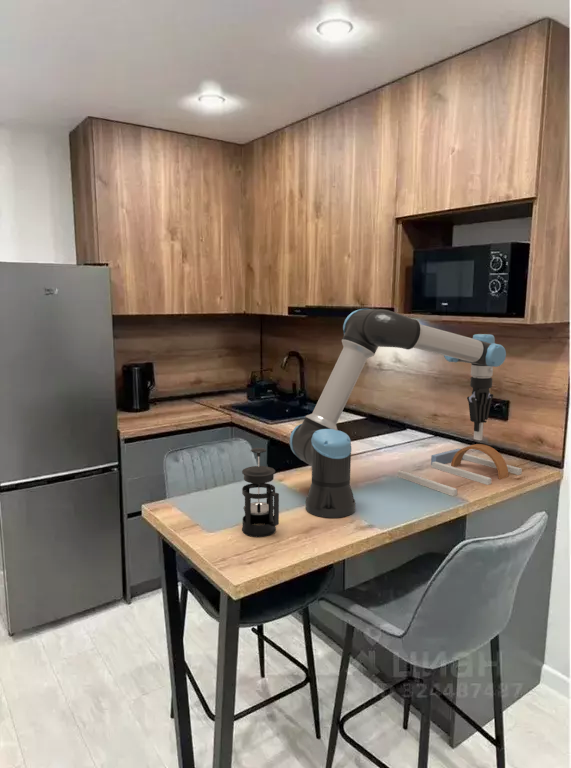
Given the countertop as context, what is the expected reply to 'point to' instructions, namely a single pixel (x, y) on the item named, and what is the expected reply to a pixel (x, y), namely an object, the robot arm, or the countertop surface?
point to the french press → (260, 510)
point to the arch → (489, 451)
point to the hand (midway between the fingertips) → (477, 439)
